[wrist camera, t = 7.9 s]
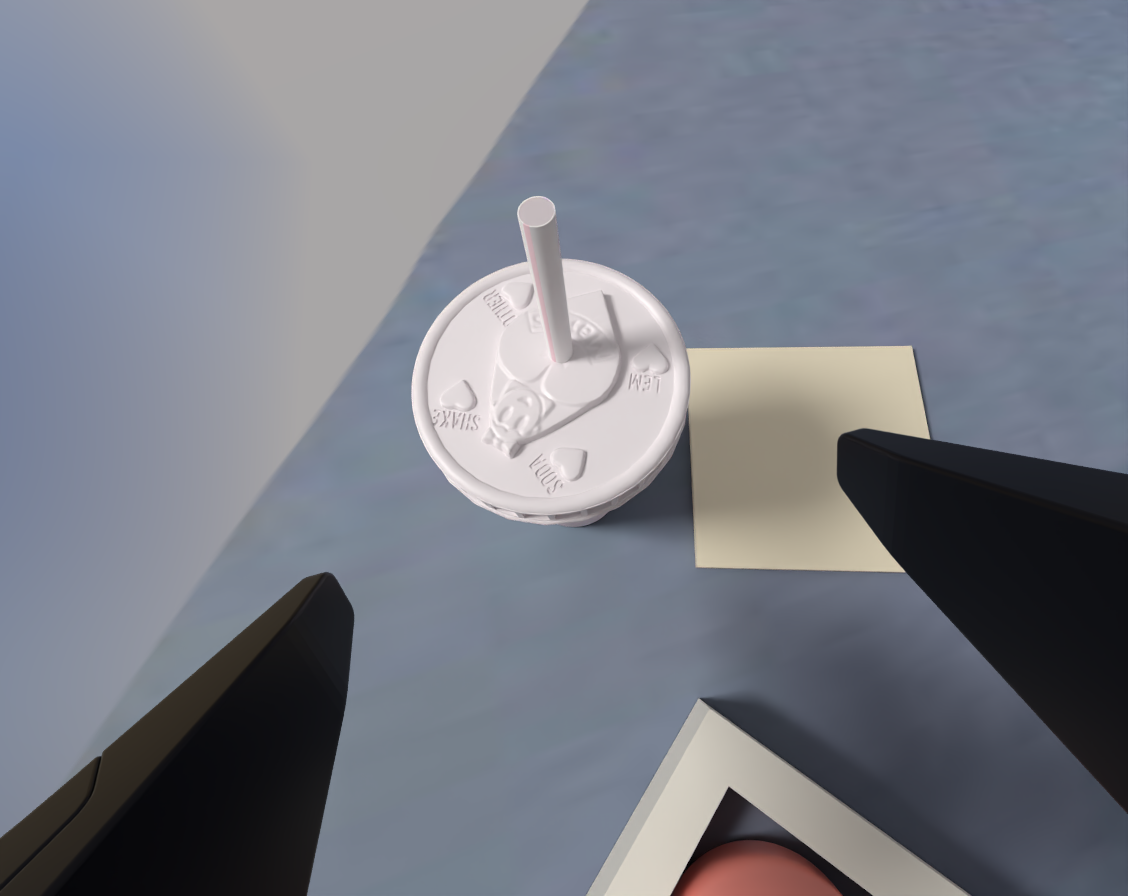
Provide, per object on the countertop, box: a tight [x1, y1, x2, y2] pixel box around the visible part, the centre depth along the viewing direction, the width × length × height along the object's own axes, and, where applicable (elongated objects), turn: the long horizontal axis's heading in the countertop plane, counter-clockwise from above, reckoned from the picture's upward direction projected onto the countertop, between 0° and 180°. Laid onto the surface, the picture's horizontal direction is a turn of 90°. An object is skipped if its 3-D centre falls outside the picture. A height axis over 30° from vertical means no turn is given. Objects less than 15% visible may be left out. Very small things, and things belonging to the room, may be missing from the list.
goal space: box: [686, 346, 930, 573], centre depth 20 cm, size 9×9×1 cm
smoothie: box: [412, 196, 691, 527], centre depth 14 cm, size 6×6×14 cm
